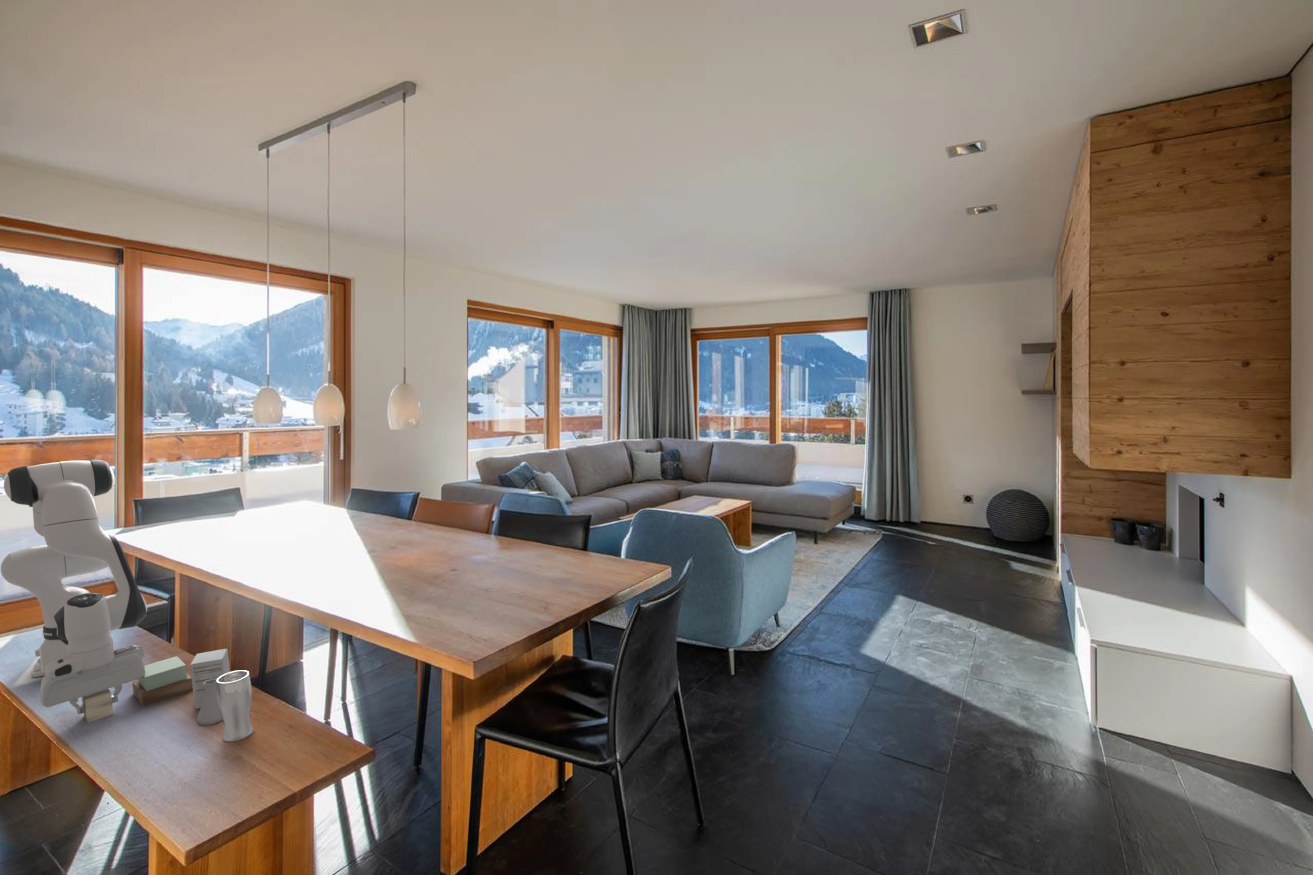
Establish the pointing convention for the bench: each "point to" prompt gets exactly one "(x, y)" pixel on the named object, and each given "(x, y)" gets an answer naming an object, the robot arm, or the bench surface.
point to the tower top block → (163, 673)
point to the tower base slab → (161, 691)
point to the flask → (209, 705)
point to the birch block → (97, 705)
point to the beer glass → (235, 704)
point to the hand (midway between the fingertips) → (97, 707)
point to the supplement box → (207, 671)
